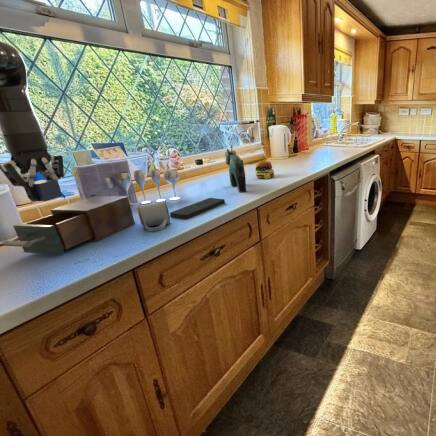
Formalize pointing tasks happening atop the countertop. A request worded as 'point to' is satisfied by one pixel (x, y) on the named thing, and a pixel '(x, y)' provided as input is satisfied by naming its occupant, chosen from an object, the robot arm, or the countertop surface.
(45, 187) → the block
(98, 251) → the countertop surface
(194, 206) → the smart home device
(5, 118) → the robot arm
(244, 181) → the dark green animal figure
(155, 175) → the goblet set
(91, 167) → the cake pan box
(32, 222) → the drawer
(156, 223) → the ceramic mug
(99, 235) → the cabinet
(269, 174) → the cheeseburger
